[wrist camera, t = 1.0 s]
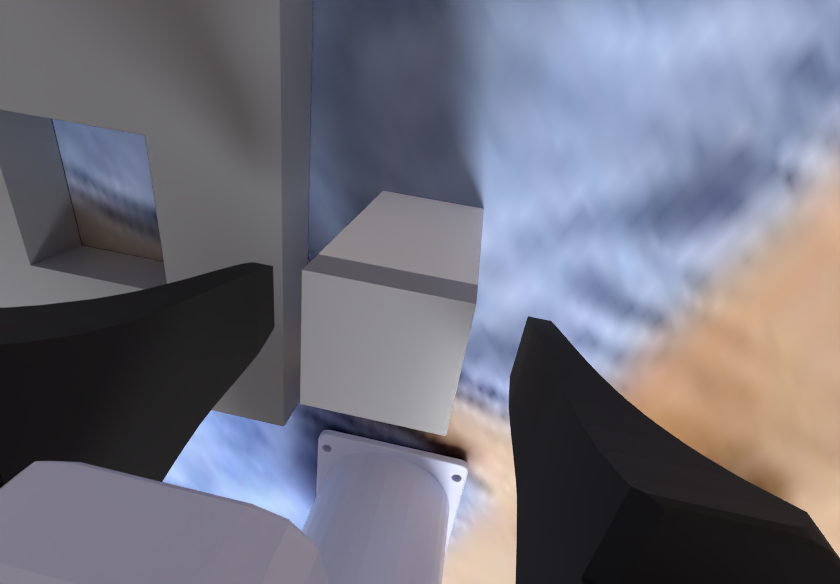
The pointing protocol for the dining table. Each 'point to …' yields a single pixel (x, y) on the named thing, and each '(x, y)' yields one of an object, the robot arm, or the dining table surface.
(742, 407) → the dining table surface
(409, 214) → the plug
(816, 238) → the dining table surface
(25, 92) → the socket
